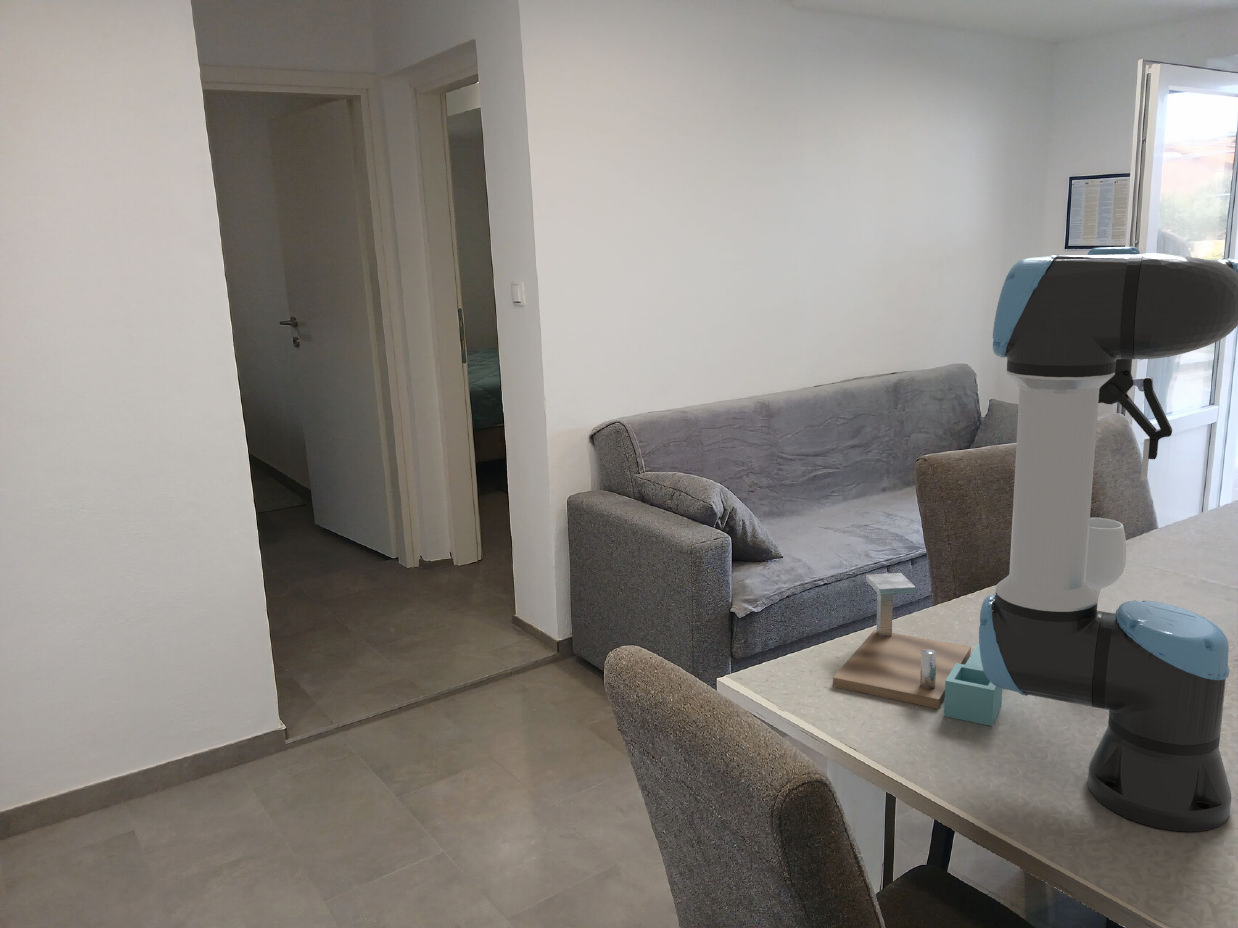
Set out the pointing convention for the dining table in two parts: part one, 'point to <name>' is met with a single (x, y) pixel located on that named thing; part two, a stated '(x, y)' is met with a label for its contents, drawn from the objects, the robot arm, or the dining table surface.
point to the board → (899, 668)
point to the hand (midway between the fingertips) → (1097, 474)
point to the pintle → (928, 669)
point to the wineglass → (1105, 553)
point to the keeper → (888, 597)
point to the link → (971, 693)
